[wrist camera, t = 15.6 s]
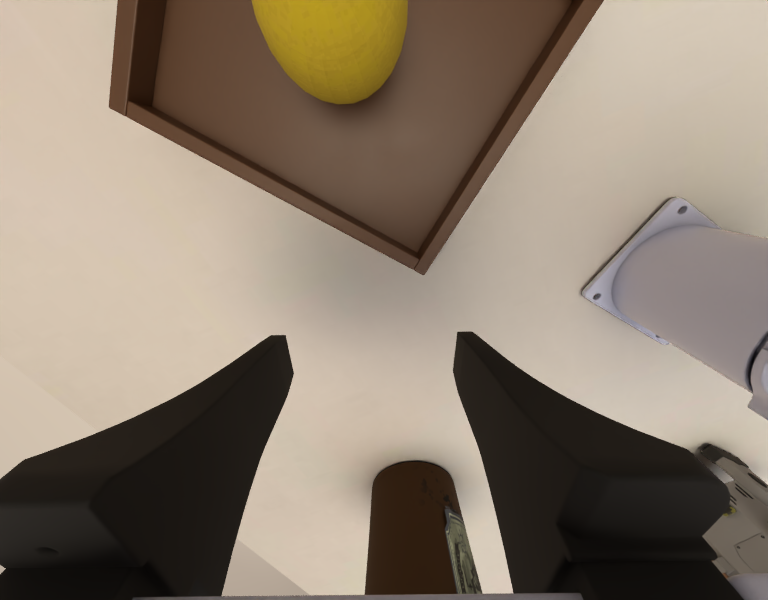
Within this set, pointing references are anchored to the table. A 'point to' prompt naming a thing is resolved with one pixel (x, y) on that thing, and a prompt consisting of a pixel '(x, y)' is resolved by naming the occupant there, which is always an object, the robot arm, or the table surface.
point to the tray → (349, 108)
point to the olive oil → (418, 535)
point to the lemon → (334, 43)
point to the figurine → (740, 519)
